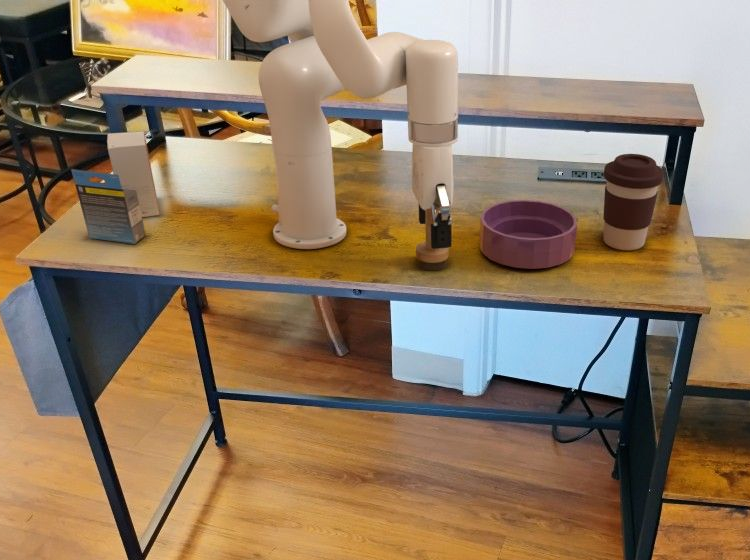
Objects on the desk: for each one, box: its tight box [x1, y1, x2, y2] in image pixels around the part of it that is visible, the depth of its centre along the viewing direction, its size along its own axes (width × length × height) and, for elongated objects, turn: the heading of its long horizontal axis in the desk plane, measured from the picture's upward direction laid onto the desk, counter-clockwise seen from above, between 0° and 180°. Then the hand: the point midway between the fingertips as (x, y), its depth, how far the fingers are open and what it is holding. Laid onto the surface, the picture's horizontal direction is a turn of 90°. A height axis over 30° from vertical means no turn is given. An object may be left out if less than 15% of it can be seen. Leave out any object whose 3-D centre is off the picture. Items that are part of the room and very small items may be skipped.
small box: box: [106, 131, 160, 218], centre depth 149 cm, size 8×6×13 cm
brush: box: [415, 203, 450, 272], centre depth 135 cm, size 5×5×11 cm
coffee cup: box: [602, 153, 665, 252], centre depth 143 cm, size 10×10×15 cm
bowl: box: [478, 199, 578, 270], centre depth 142 cm, size 16×16×6 cm
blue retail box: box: [70, 168, 146, 245], centre depth 139 cm, size 9×4×12 cm, turn 77°
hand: (434, 234), depth 135 cm, fingers open, 9 cm apart
